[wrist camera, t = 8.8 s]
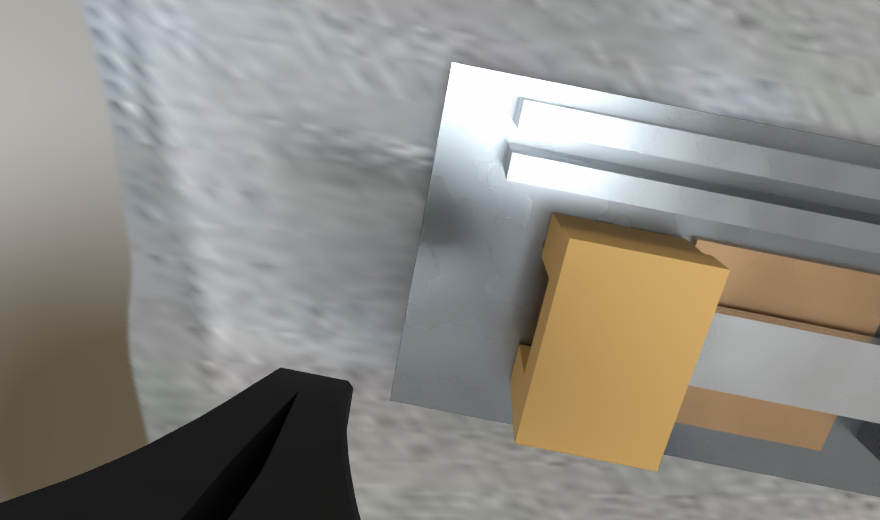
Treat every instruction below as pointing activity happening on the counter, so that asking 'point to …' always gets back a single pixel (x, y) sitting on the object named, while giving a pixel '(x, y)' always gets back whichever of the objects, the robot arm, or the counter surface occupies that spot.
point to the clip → (613, 341)
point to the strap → (791, 364)
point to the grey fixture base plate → (650, 209)
